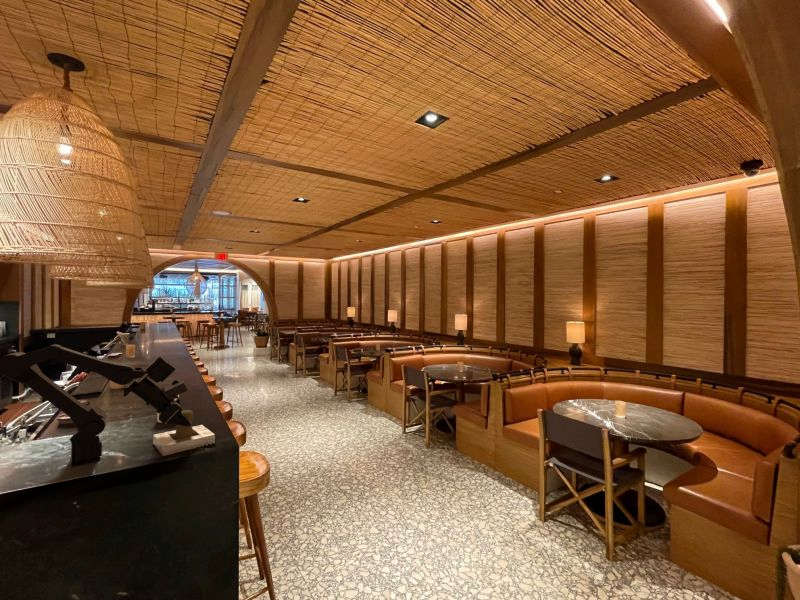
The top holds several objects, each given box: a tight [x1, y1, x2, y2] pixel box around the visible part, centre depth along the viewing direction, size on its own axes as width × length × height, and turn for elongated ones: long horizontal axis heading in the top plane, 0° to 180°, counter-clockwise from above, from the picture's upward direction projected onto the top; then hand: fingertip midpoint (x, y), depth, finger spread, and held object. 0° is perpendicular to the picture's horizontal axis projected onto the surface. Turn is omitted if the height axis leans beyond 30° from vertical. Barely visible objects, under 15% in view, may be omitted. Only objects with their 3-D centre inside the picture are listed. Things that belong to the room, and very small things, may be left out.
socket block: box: [152, 424, 216, 457], centre depth 122 cm, size 15×14×3 cm
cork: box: [175, 409, 194, 440], centre depth 122 cm, size 6×6×11 cm
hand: (189, 421), depth 123 cm, fingers open, 9 cm apart
